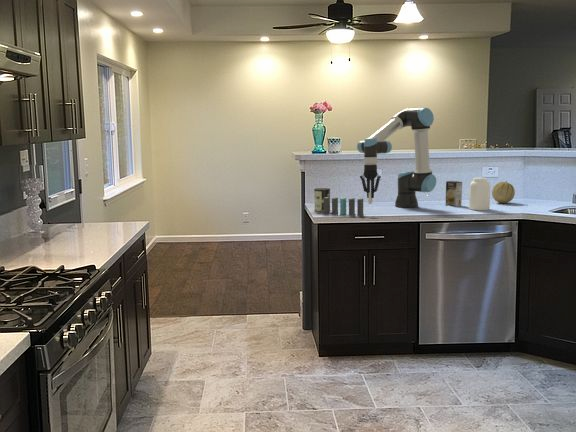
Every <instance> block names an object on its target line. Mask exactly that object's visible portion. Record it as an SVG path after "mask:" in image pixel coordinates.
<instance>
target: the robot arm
mask: <svg viewBox="0 0 576 432" xmlns="http://www.w3.org/2000/svg"><path fill="white" fill-rule="evenodd" d="M434 120H435V118H434V113H433V112H432V110H431V109H430V108H428V107H424V106H422V107H421V106H420V107H408V108H404V109H402V110H401V111H399V112H397V113H396V114H394V115H393V116H392V117H391V118H390V121H388V122H387V123H386V124H384V125H383V126H381V128H379V129H378V130H377V131H375V132H374V133H373V134H371V136H369V137H366V138H364V140H360V141H358V143H357V146H356V148H357V151H358V153H361V154H363V155H364V157H363V163H364V165H363V168H364V169H363V173H362V175H360V176H359V179H360V180H361V185H362V188H363V192H365V193H366V198H367V199H368V205H369V204H370V205H372V204H373V199H374V197H375V192H376V193H377V191H378V188H379V183H380V180H381V178H382V175H379V174H378V165H377V164H378V155H379V154H380V155H381V154H388V153H391V151H392V149H393V148H392V147H393V146H392V143H391V141H389V140H387V139H388V138H389V137H391V136H392V135H393V134H395V133H396V132H397V131H399V130H402V129H403V128H406V127H411V131H412V132H413V138H414V157H415V169H414V171H413V170H412V171H404V172H399V173H398V174H397V196H396V199H395V202H394V206H395V207H397V208H416V207H419V201H418V199H417V195H416V193H417V192H420V193H431V192H432V191H433V190H434V189H435V187H436V185H437V177H436V175H434V174H433V170H432V169H431V168H430V155H429V154H430V153H429V151H430V149H429V147H430V146H429V132H428V131H429V130H430V129H431V126H432V125H433V124H434ZM365 179H366V180H365ZM375 179H376V181H375Z"/></svg>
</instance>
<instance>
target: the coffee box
mask: <svg viewBox="0 0 576 432" xmlns="http://www.w3.org/2000/svg"><path fill="white" fill-rule="evenodd" d="M462 198H463V181H460V180H458V181H457V180H446V181H445V206H451V207H459V206H462Z"/></svg>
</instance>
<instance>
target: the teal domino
mask: <svg viewBox="0 0 576 432" xmlns="http://www.w3.org/2000/svg"><path fill="white" fill-rule="evenodd" d="M339 201H340V203H339V204H340V205H339V210H340V211H339V213H340V216H345V215H347V197H341V198H340V199H339Z"/></svg>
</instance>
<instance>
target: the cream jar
mask: <svg viewBox="0 0 576 432" xmlns="http://www.w3.org/2000/svg"><path fill="white" fill-rule="evenodd" d="M468 191H469V194H468V196H469V197H468V208H469V210H472V211H488V210H490V209H491V208H490V207H491V184H490V182H489V181H488V178H487V177H473V179H472V181H471V182H470V184H469V190H468Z"/></svg>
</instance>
